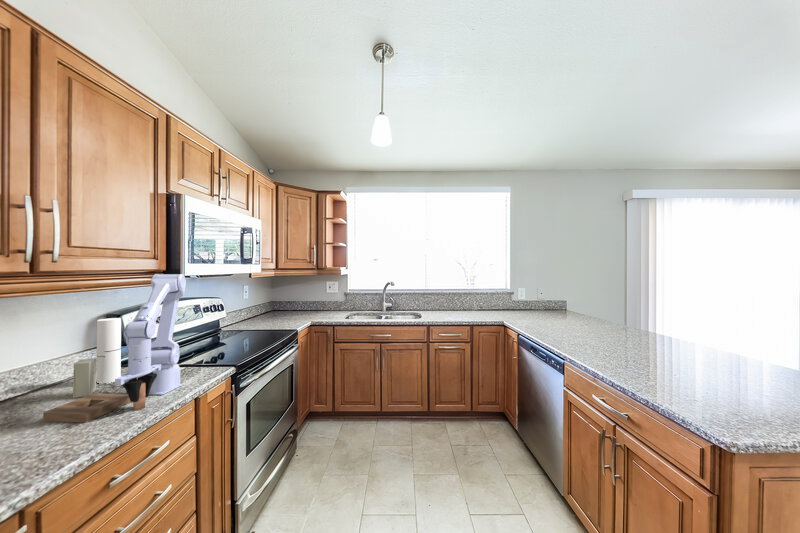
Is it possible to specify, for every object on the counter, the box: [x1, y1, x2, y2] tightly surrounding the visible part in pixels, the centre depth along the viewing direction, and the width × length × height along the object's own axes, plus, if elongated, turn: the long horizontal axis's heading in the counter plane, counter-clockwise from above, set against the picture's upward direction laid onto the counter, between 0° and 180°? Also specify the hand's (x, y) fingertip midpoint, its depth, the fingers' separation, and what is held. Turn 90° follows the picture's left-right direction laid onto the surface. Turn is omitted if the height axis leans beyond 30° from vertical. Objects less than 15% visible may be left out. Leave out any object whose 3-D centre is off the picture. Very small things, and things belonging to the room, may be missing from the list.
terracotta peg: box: [132, 382, 146, 411], centre depth 100 cm, size 3×3×8 cm
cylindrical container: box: [96, 317, 122, 385], centre depth 125 cm, size 7×7×25 cm
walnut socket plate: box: [42, 393, 132, 423], centre depth 98 cm, size 14×14×2 cm
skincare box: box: [72, 357, 97, 399], centre depth 111 cm, size 6×4×12 cm
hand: (139, 399), depth 100 cm, fingers closed on terracotta peg, 3 cm apart
